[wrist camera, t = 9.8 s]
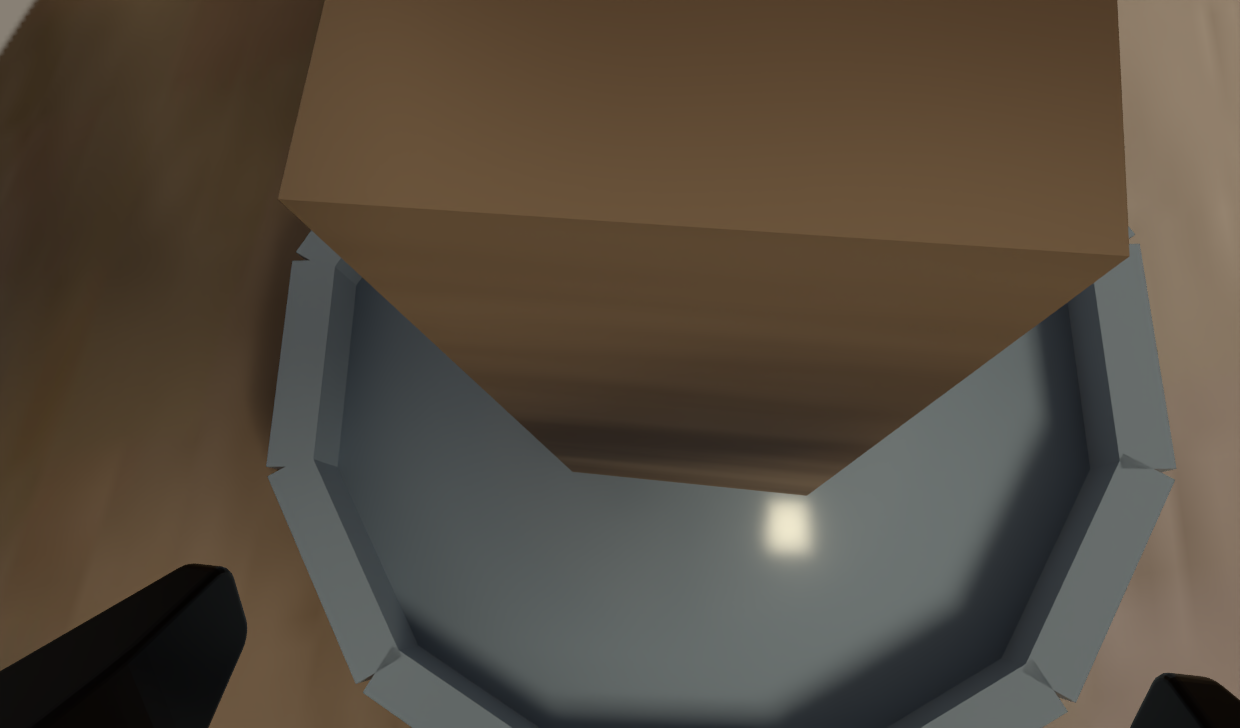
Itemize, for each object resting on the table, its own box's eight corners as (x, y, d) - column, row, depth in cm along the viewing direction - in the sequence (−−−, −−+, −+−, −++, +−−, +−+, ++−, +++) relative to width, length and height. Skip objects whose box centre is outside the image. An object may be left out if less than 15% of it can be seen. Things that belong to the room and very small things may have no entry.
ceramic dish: (534, 994, 16) (512, 1052, 14) (209, 256, 21) (159, 223, 19) (1297, 530, 17) (1374, 523, 15) (817, -70, 22) (829, -135, 20)
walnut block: (806, 496, 17) (1129, 255, 4) (571, 471, 18) (277, 199, 5) (818, 272, 18) (1098, -402, 6) (599, 257, 19) (417, -390, 6)
